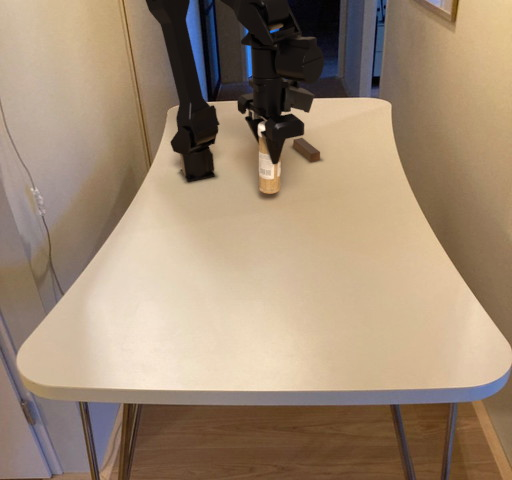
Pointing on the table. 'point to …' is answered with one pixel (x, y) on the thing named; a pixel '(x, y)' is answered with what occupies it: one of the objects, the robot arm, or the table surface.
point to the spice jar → (267, 167)
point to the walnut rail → (306, 149)
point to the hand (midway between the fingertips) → (270, 159)
